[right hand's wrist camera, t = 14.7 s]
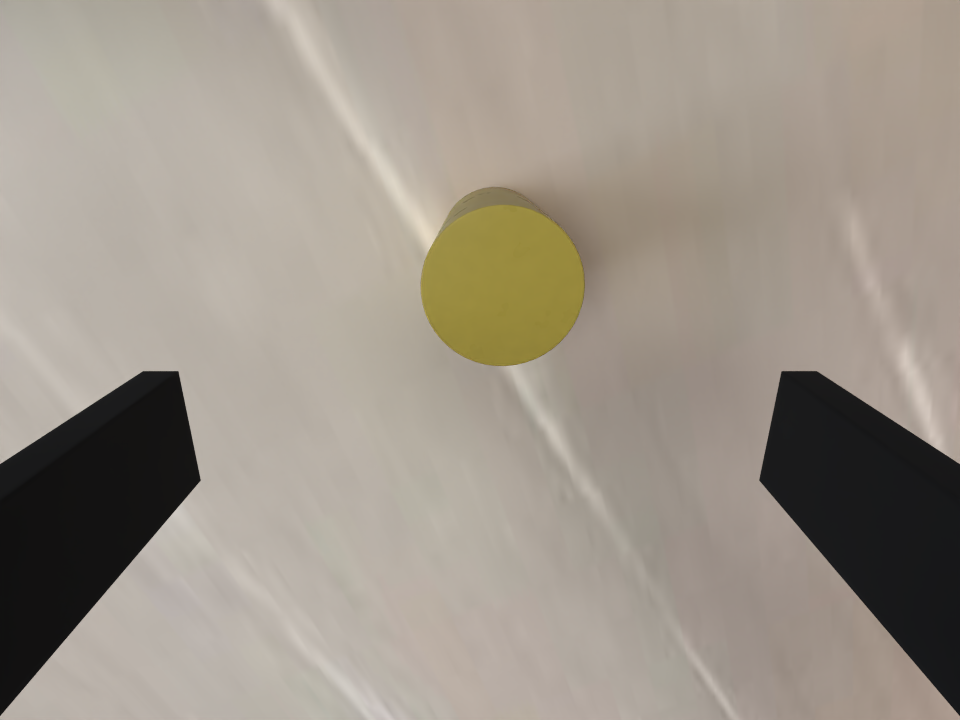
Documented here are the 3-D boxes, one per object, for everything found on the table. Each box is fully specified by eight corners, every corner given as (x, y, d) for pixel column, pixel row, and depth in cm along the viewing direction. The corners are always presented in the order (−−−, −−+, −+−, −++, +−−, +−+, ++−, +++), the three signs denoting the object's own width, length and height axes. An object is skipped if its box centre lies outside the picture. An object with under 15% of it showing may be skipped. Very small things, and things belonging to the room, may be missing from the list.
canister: (558, 200, 31) (605, 225, 19) (532, 303, 33) (560, 380, 21) (452, 176, 30) (437, 187, 19) (432, 281, 32) (407, 349, 21)
